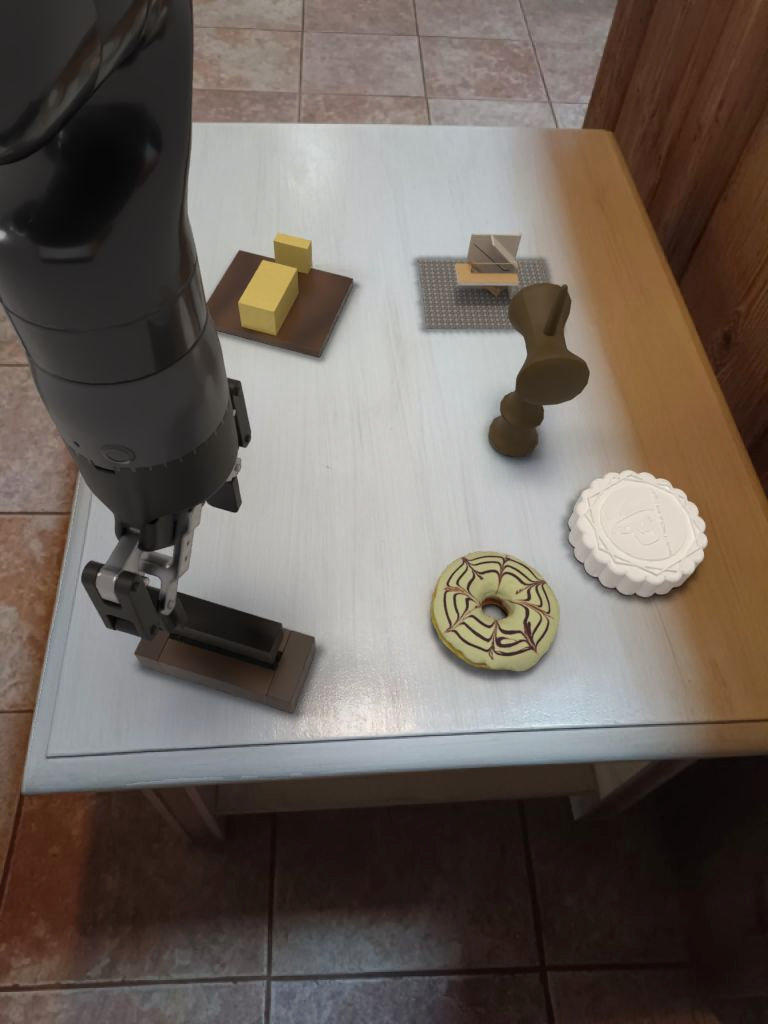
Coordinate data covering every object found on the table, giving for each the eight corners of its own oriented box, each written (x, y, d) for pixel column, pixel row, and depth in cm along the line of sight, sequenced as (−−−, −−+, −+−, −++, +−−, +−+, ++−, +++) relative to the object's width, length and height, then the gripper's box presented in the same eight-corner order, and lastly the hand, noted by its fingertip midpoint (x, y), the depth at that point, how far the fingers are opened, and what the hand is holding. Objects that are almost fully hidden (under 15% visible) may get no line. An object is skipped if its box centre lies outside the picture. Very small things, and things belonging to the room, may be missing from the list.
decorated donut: (542, 693, 60) (554, 678, 57) (417, 660, 61) (421, 644, 57) (558, 582, 65) (569, 564, 62) (442, 554, 66) (447, 533, 63)
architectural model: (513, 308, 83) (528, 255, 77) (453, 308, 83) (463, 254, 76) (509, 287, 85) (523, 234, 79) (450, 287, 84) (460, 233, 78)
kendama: (486, 478, 71) (535, 328, 54) (478, 401, 76) (520, 242, 59) (547, 479, 71) (614, 330, 54) (535, 403, 76) (593, 245, 59)
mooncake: (557, 486, 71) (567, 465, 68) (676, 486, 72) (691, 465, 68) (579, 599, 64) (591, 581, 61) (709, 597, 65) (727, 580, 62)
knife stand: (142, 666, 59) (133, 653, 56) (171, 606, 62) (164, 591, 59) (292, 713, 58) (290, 702, 55) (315, 650, 61) (315, 637, 58)
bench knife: (175, 656, 60) (153, 616, 52) (187, 630, 61) (167, 588, 54) (278, 689, 59) (270, 653, 52) (288, 662, 60) (282, 623, 53)
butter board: (197, 325, 79) (196, 318, 78) (240, 256, 85) (239, 249, 84) (319, 357, 78) (319, 351, 77) (353, 285, 84) (353, 278, 83)
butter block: (241, 327, 78) (237, 302, 75) (265, 284, 81) (262, 259, 78) (276, 336, 78) (274, 311, 75) (298, 293, 81) (297, 268, 78)
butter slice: (275, 266, 83) (273, 240, 80) (279, 257, 84) (277, 232, 81) (308, 274, 83) (307, 249, 80) (312, 265, 84) (311, 240, 81)
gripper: (135, 267, 35) (189, 457, 49) (-30, 501, 28) (88, 647, 42) (279, 304, 35) (293, 486, 49) (148, 554, 28) (209, 684, 41)
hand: (198, 561), depth 45 cm, fingers open, 8 cm apart
